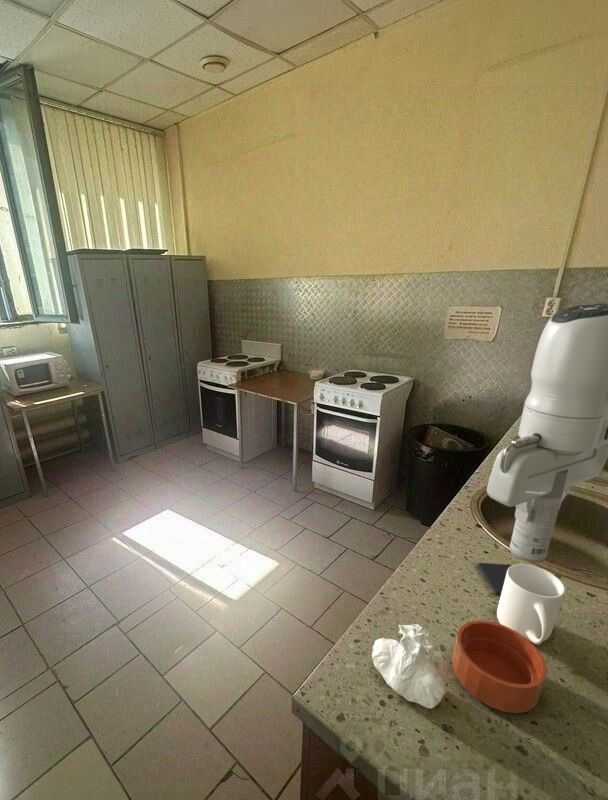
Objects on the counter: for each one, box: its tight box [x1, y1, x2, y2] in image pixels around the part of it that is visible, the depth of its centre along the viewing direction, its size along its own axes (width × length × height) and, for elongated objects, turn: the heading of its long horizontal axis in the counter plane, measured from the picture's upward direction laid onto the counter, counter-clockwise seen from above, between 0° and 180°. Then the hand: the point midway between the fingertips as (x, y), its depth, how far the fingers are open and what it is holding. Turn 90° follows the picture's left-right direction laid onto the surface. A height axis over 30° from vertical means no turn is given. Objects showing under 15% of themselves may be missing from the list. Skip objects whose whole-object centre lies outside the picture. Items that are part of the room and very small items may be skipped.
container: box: [509, 470, 568, 564], centre depth 59 cm, size 5×5×15 cm
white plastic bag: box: [371, 623, 447, 710], centre depth 63 cm, size 12×8×11 cm
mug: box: [496, 563, 566, 646], centre depth 71 cm, size 9×12×11 cm
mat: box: [477, 562, 513, 596], centre depth 85 cm, size 9×9×1 cm
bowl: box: [451, 619, 548, 714], centre depth 64 cm, size 12×12×6 cm
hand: (536, 514), depth 59 cm, fingers closed on container, 4 cm apart
